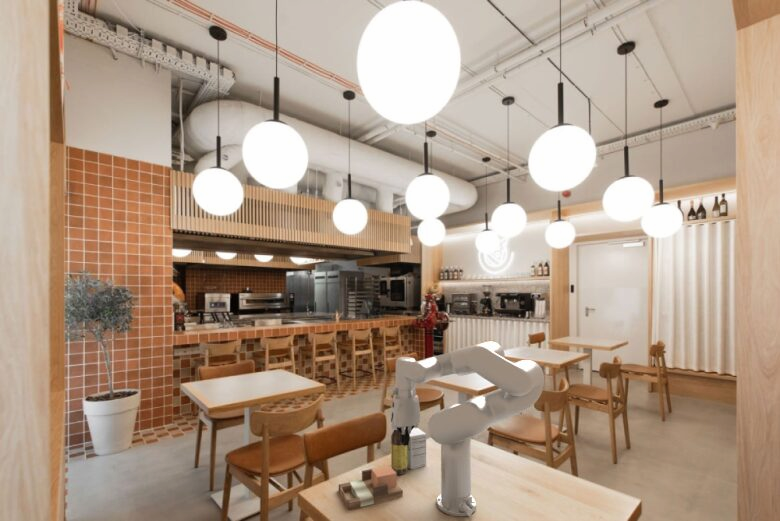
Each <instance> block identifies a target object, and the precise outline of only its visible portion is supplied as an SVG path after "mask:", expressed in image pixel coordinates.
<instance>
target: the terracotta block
mask: <svg viewBox="0 0 780 521" xmlns="http://www.w3.org/2000/svg"><path fill="white" fill-rule="evenodd" d="M370 469H371V482H372V484H373V485H374V486H376V485H381V484H385V483H387V484H388V489H389V488H393V487H396V483H397V474H396V472H395V471H394V470H393V469H392V467H391V464H390V465H384V466H379V467H376V468H375V467H373V468H370Z"/></svg>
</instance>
